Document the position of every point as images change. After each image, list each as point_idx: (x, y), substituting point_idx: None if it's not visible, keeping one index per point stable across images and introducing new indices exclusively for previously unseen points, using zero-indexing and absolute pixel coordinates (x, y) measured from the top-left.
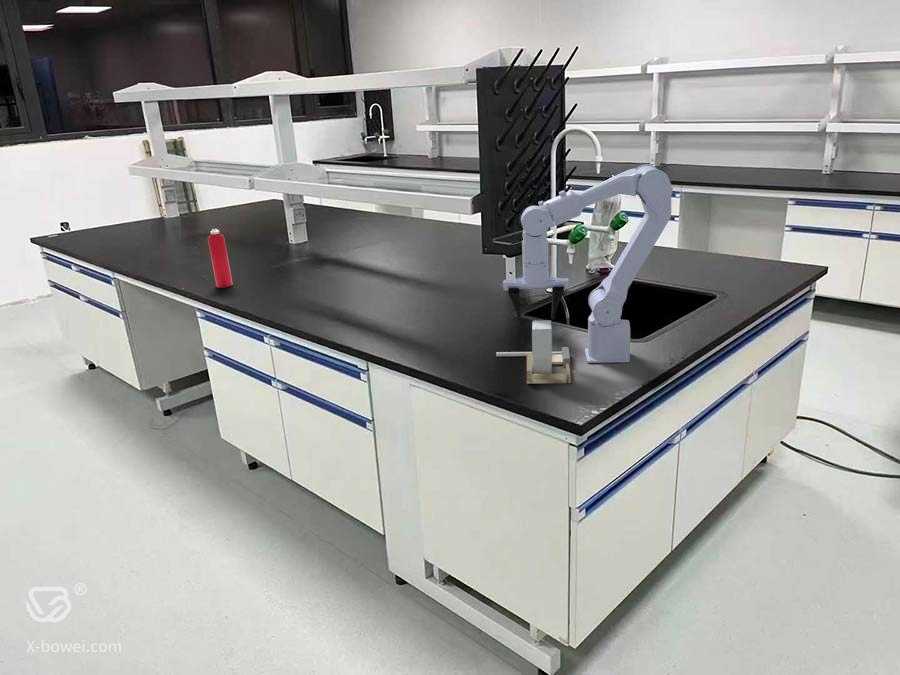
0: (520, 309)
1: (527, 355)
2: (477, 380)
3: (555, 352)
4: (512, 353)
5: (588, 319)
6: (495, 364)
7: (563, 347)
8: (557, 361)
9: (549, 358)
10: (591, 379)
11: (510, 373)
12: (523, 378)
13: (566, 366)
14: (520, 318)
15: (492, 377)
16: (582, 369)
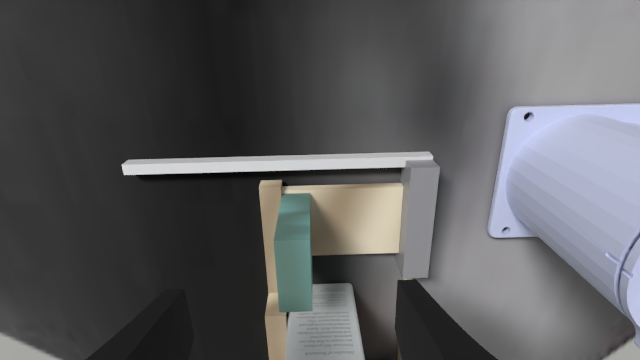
0: (157, 329)
1: (262, 215)
2: None
3: (378, 166)
4: (195, 172)
5: (628, 279)
6: (148, 241)
7: (417, 171)
8: (379, 250)
9: None
10: None
11: (217, 306)
12: (264, 335)
13: None
14: (186, 352)
15: None
16: (457, 275)
